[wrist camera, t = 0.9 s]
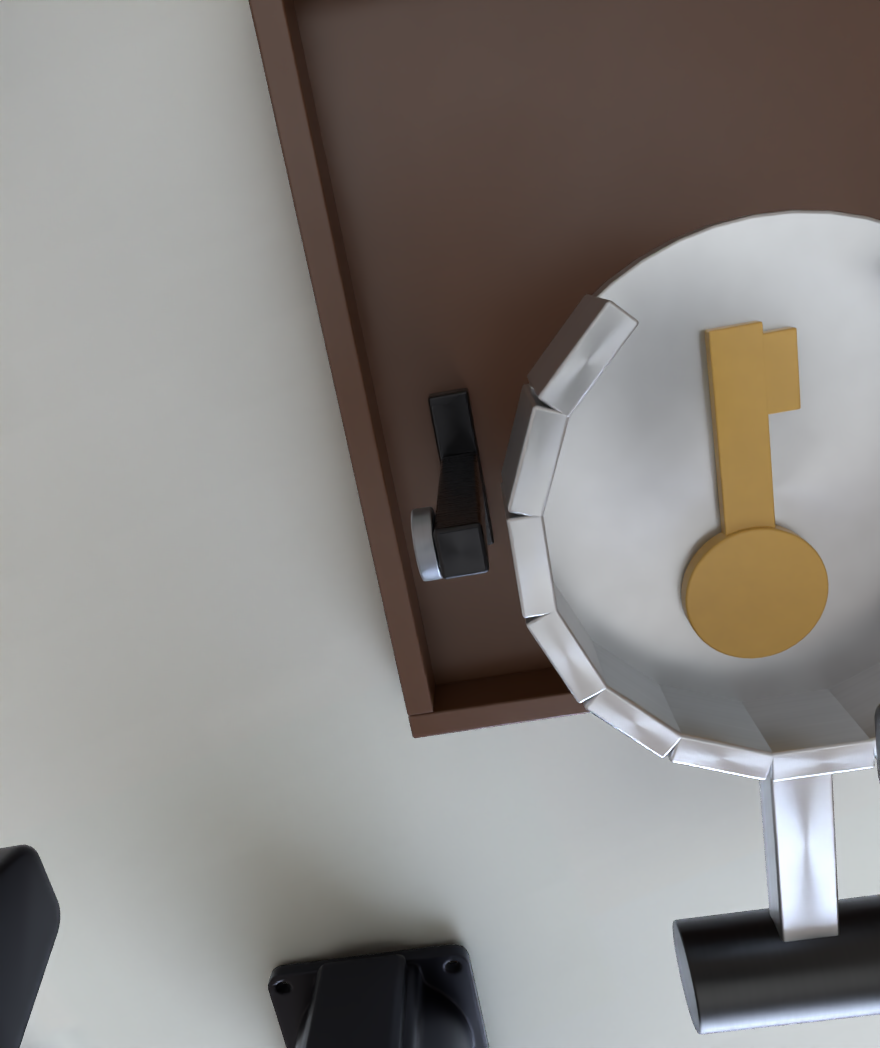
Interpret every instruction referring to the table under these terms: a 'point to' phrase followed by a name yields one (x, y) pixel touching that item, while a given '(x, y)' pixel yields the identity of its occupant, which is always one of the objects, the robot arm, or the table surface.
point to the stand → (454, 497)
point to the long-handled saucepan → (673, 539)
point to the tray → (526, 233)
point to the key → (751, 506)
